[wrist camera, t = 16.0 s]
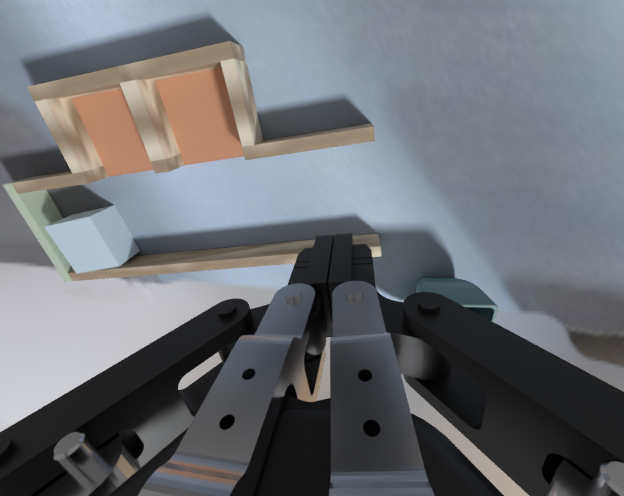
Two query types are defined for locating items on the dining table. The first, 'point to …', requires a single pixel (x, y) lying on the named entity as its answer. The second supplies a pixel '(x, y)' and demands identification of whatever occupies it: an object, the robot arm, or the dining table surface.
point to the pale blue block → (93, 239)
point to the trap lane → (162, 145)
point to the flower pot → (461, 294)
